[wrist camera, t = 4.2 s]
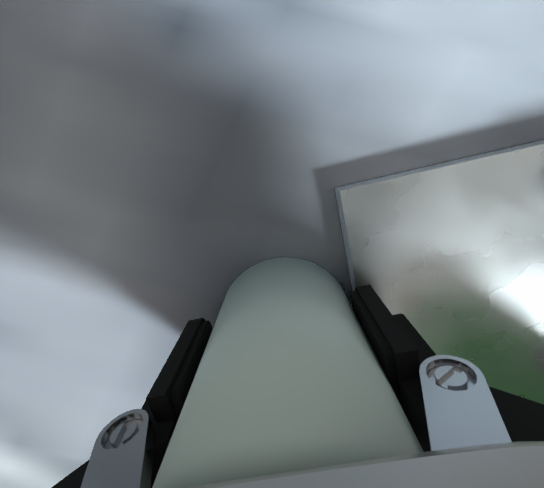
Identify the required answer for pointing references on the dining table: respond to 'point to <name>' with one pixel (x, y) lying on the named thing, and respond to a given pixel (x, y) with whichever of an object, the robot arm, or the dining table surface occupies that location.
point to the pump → (284, 385)
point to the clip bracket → (460, 258)
